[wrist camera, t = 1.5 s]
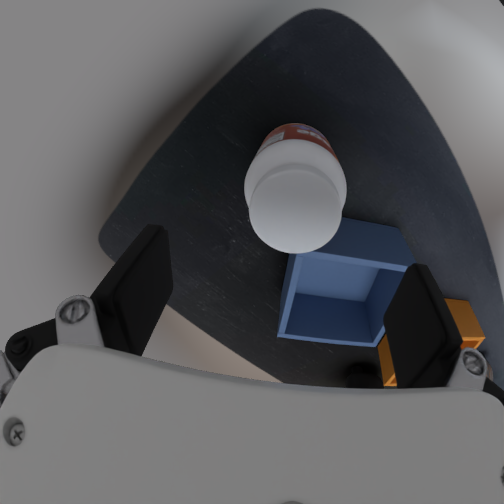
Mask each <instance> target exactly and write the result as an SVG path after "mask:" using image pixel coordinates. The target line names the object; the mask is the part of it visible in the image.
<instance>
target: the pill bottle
mask: <svg viewBox="0 0 504 504" xmlns="http://www.w3.org/2000/svg"><path fill="white" fill-rule="evenodd" d="M346 189H347V187H346V180H345V176H344V173H343V170H342V167H341V166H340V163H339V161H338V159H337V157H336V155H335V153H334V151H333V150H332V148H331V146H330V144H329V142H328V141H327V139H326V138H325V137H324V136H323V134H321V133H320V132H319V131H318V130H316V129H314V128H313V127H310V126H308V125H305V124H299V123H291V124H285V125H282V126H280V127H278V128H276V129H274V130H273V131H272V132H271V133H269V135H268V136H267V137H266V138H265V140H264V141H263V143H262V145H261V147H260V149H259V150H258V152H257V154H256V156H255V158H254V160H253V161H252V163H251V165H250V167H249V169H248V172H247V175H246V178H245V185H244V192H245V198H246V202H247V205H248V207H249V216H250V221H251V224H252V226H253V229H254V230H255V232H256V234H257V235H258V236H259V237H260V239H261V240H263V241H264V242H265V243H266V244H268V245H269V246H271V247H272V248H274V249H277V250H279V251H282V252H286V253H294V254H296V253H306V252H311V251H314V250H316V249H318V248H320V247H322V246H323V245H325V244H326V243H327V242H328V241H330V240H331V238H332V237H333V236H334V235H335V233H336V232H337V230H338V227H339V225H340V222H341V216H342V209H343V206H344V203H345V200H346Z"/></svg>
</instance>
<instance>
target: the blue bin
mask: <svg viewBox="0 0 504 504" xmlns="http://www.w3.org/2000/svg"><path fill="white" fill-rule="evenodd" d="M413 263H416V261H415V259H414V257H413V255H412V253H411V251H410V249H409V247H408V245H407V243H406V241H405V240H404V238H403V236H402V234H401V232H400V231H399V229H398V228H396V227H391V226H386V225H381V224H376V223H371V222H366V221H360V220H355V219H350V218H344V217H341V222H340V225H339V227H338V230H337V232H336V233H335V235H334V236H333V237H332V238H331V240H330V241H328V242H327V243H326V244H325V245H323V246H322V247H320V248H318V249H316V250H314V251H311V252H306V253H296V254H294V253H289V258H288V263H287V268H286V273H285V278H284V283H283V288H282V294H281V304H280V315H279V324H278V334H277V337H283V338H290V339H298V340H306V341H315V342H324V343H334V344H344V345H356V346H369V347H376V345H377V344H378V342H379V340H380V339H381V337H382V336H383V334H384V332H385V328H384V324H383V317H384V314H385V312H386V310H387V308H388V306H389V304H390V302H391V300H392V298H393V296H394V294H395V292H396V290H397V288H398V286H399V284H400V282H401V280H402V278H403V275H404V273H405V271H406V269H407V267H408V266H411V265H412V264H413Z"/></svg>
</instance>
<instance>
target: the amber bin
mask: <svg viewBox="0 0 504 504" xmlns="http://www.w3.org/2000/svg"><path fill="white" fill-rule="evenodd" d="M444 299H445V301H446V303H447V305H448V307H449V310H450V312H451V314H452V316H453V318H454V320H455V323H456V325H457V327H458V329H459V332H460V334H461V337H462V339H463V341H464V342H463V343H462V344H461V346H460V347H461V349H464V348H466V347H471V348H474V349H476V348H477V347H478V346H479V344H480V343H481V342H482V341H483V340H484V338H485V336H484V334H483V331H482V329H481V327H480V325H479V323H478V321H477V318H476V316H475V314H474V312H473V310H472V308H471V306H470V304H469V302H468V301H465V300H456V299H447V298H444ZM378 352H379V358H380V364H381V370H382V377H383V383H384V386H397V383H396V378H395V372H394V367H393V363H392V358H391V353H390V349H389V345H388V340H387V336H386V334H385V336H384V337H383V339H382V341H381V342H380V344H379V345H378Z"/></svg>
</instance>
